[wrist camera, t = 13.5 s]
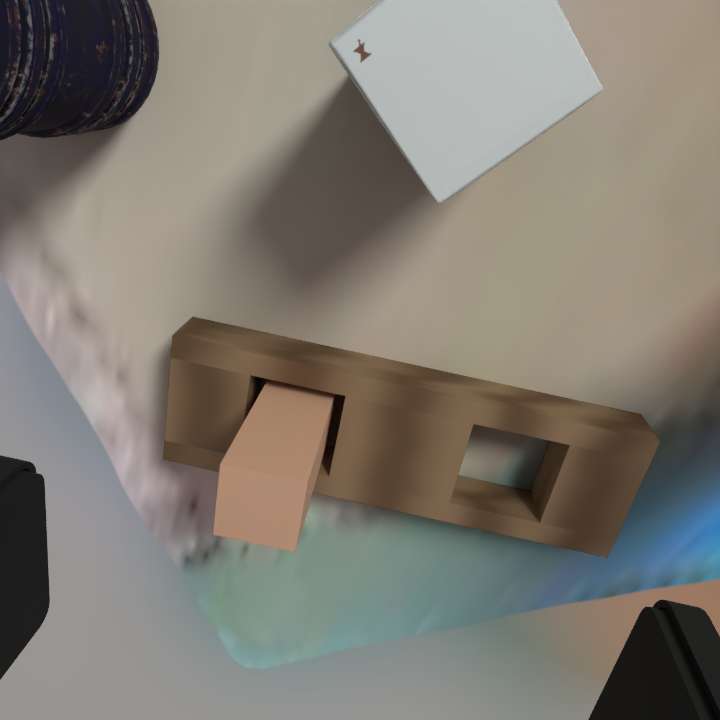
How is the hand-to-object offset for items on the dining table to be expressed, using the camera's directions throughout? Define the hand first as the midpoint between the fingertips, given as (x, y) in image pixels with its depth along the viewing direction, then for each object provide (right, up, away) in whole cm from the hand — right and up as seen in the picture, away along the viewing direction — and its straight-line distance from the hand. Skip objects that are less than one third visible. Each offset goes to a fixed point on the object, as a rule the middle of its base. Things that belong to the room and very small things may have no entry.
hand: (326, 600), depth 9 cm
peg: (-3, +1, +32) cm, 33 cm away
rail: (+3, -1, +32) cm, 32 cm away
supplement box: (+6, +19, +24) cm, 31 cm away
